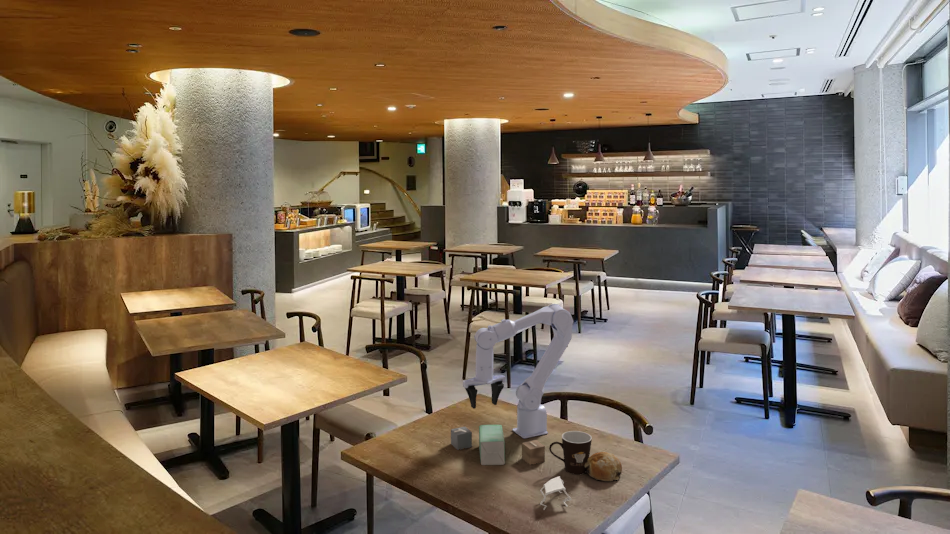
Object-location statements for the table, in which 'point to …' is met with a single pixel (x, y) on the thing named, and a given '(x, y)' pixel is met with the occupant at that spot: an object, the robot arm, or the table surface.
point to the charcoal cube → (461, 438)
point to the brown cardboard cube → (533, 452)
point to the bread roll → (604, 466)
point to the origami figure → (554, 489)
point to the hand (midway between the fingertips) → (483, 405)
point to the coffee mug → (574, 451)
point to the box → (491, 445)
